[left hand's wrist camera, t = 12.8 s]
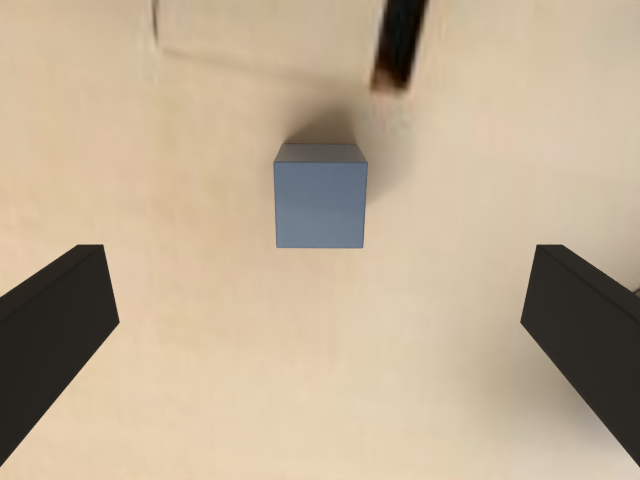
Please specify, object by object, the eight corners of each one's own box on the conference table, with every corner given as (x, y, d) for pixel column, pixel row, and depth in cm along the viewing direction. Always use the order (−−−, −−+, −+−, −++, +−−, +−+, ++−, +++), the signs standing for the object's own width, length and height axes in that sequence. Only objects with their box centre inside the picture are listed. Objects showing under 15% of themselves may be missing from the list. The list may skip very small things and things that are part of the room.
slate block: (357, 144, 27) (368, 162, 21) (354, 215, 29) (363, 248, 23) (282, 143, 27) (273, 161, 21) (283, 214, 29) (276, 248, 23)
